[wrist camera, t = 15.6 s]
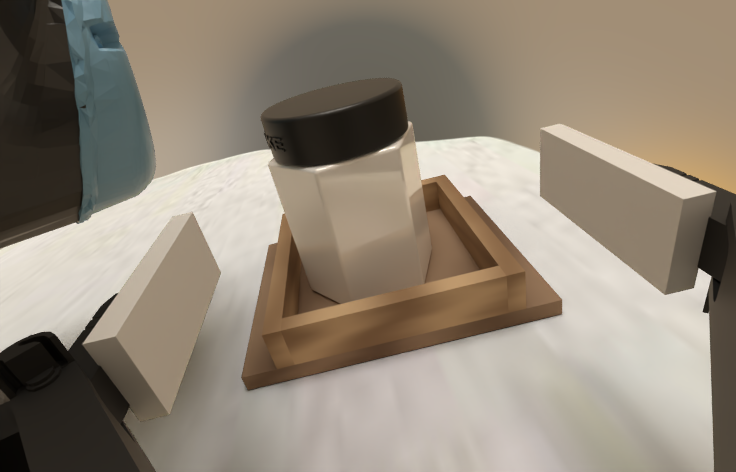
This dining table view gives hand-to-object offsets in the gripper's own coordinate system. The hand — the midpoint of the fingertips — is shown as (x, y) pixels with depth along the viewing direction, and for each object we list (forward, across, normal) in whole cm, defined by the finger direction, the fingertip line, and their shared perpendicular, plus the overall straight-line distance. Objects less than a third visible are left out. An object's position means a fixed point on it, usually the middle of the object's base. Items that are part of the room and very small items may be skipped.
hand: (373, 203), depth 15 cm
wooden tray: (+10, 0, -11) cm, 15 cm away
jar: (+10, -1, -10) cm, 14 cm away
